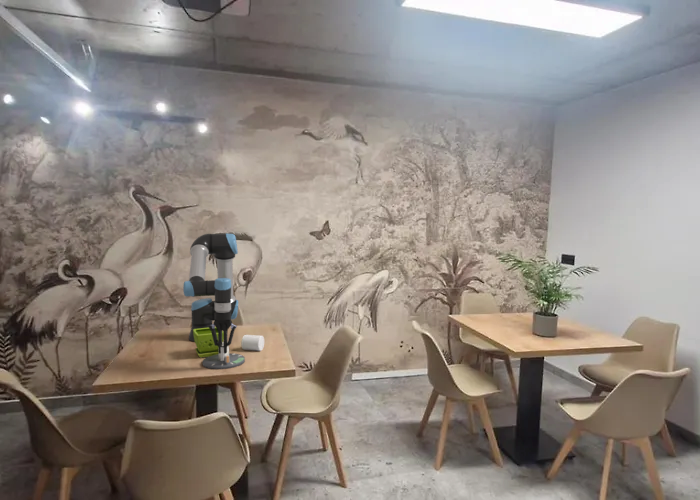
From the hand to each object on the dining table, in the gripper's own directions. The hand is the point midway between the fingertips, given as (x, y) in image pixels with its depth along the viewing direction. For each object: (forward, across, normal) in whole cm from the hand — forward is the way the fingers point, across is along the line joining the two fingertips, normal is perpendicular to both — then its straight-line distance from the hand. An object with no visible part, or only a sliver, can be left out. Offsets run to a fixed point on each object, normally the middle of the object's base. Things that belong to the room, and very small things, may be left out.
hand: (222, 359), depth 210 cm
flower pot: (+4, -13, +21) cm, 25 cm away
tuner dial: (+4, -2, +7) cm, 8 cm away
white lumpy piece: (+2, 0, +4) cm, 5 cm away
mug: (+4, +9, +31) cm, 32 cm away
